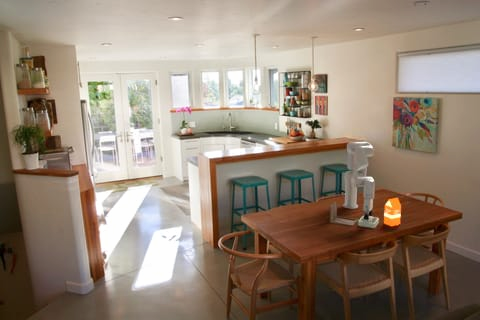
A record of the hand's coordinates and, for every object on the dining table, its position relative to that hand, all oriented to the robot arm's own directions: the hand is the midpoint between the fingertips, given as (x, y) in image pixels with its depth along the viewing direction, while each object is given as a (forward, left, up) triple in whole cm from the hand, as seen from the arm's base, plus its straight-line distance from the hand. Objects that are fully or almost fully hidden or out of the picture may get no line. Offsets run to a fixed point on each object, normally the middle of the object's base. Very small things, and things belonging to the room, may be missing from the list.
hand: (367, 217), depth 294 cm
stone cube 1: (-5, 0, -6) cm, 8 cm away
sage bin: (-2, 0, -6) cm, 7 cm away
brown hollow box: (+1, -17, -6) cm, 19 cm away
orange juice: (-12, +15, -7) cm, 21 cm away
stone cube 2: (0, 0, -6) cm, 6 cm away
